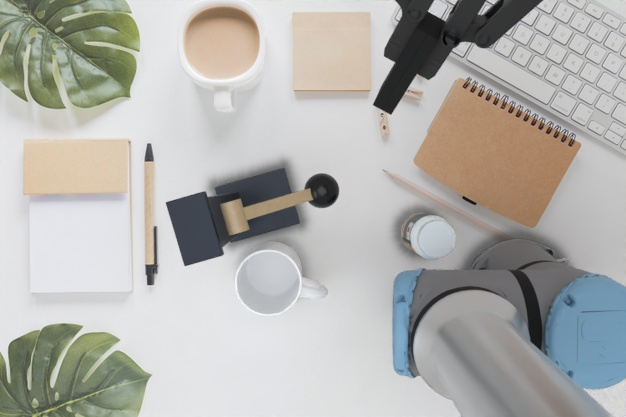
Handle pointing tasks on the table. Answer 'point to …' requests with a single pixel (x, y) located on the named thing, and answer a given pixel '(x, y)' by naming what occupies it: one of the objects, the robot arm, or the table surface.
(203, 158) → the table surface
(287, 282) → the mug
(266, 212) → the lever
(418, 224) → the pill bottle
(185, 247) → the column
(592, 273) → the robot arm
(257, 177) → the footplate
